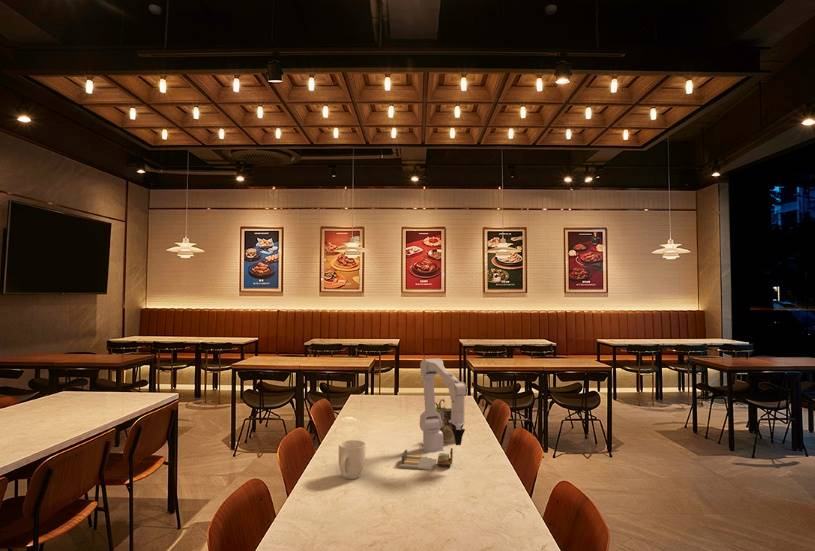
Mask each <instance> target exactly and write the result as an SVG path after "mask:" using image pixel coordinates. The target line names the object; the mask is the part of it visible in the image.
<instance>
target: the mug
mask: <svg viewBox="0 0 815 551" xmlns="http://www.w3.org/2000/svg"><path fill="white" fill-rule="evenodd" d="M366 451H367V450H366V442H365V441H364V440H359V439H348V440H343V441H341V442H340V443H338V464H339V465H338V466H339V470H340V475H341V476H343V478H344V479H346V480H356V479H358V478H360V477H361V475H362V473H363V471H364V467H365V465H366Z"/></svg>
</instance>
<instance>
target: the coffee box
mask: <svg viewBox="0 0 815 551" xmlns="http://www.w3.org/2000/svg"><path fill="white" fill-rule="evenodd" d="M451 408H452V407H445V408H442V407H441V410H439V414H440V417H441V421H442V427H441V429H439V430H441V431H442V433H443V443H451V444H455V437H454V434H453V431H452V428H453V427H452V425H451V423H449V420H451Z"/></svg>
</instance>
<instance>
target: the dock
mask: <svg viewBox="0 0 815 551" xmlns="http://www.w3.org/2000/svg"><path fill="white" fill-rule="evenodd" d="M437 460H438V458H432V457H428V456H422V455H411V454H408V449H404V452H403V453H402V455H401V461H400V463H399V465H398V468H399V469H404V470H406V469H407V470H418V471H419V470H420V471H431V472H432V471H435V468H436V465H437Z"/></svg>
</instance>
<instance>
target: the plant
mask: <svg viewBox="0 0 815 551" xmlns="http://www.w3.org/2000/svg"><path fill="white" fill-rule="evenodd" d="M445 402H446V400H445V399H440V401H439V402H436V401H435V410H436V411H437V412H438V413H439V410H441V408H446V407H445V406H442V404H441V403H445ZM431 417H434V416H431ZM427 418H428V417H427Z"/></svg>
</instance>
